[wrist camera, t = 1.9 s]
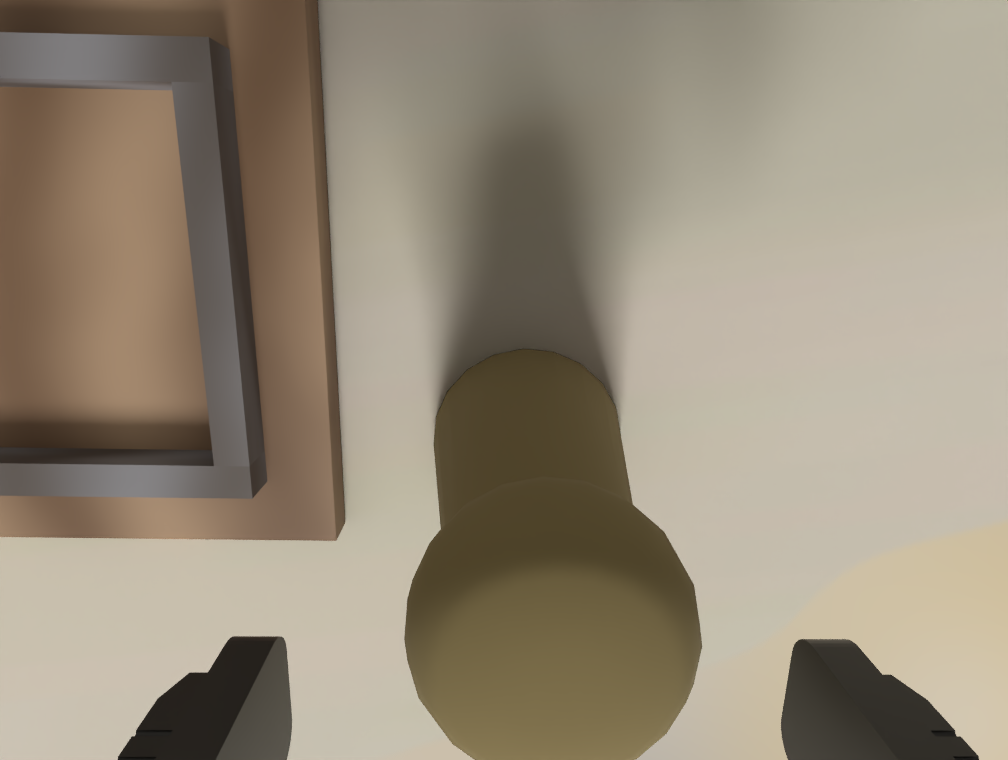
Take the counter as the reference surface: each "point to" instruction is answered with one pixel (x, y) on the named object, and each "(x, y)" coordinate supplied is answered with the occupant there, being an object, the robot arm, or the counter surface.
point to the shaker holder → (166, 273)
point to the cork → (545, 576)
